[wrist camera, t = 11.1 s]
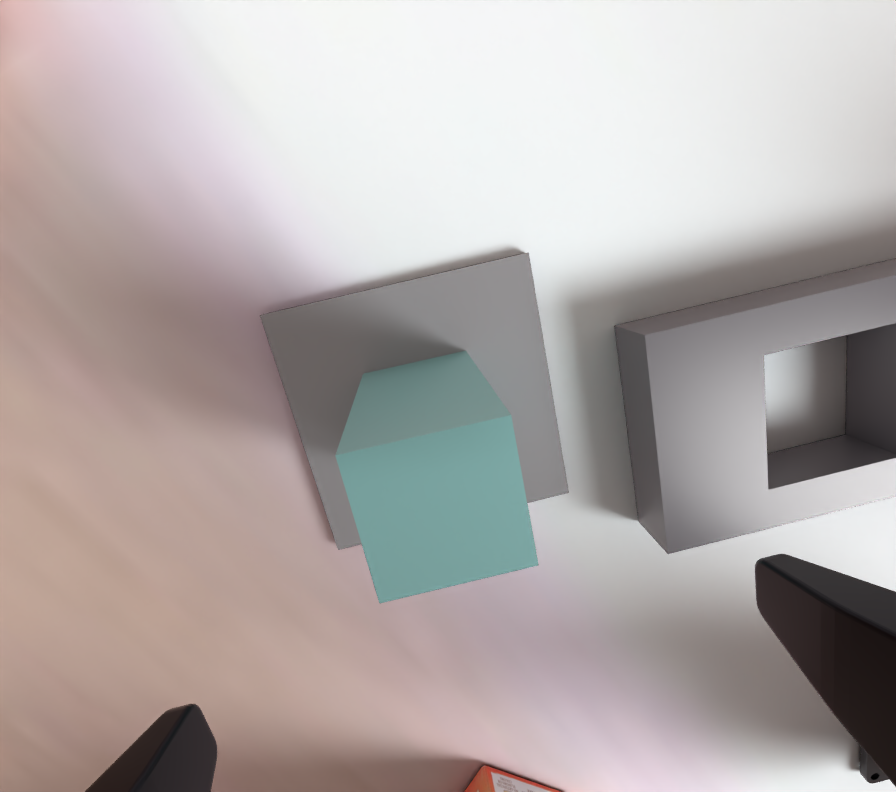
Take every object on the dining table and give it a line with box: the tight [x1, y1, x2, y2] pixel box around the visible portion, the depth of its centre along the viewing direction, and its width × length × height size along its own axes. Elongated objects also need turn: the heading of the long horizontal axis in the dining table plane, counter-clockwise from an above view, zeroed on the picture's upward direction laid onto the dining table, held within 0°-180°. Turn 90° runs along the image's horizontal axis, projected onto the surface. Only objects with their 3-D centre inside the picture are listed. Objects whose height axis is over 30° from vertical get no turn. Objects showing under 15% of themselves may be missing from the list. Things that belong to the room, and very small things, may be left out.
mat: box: [260, 253, 569, 550], centre depth 19 cm, size 10×10×1 cm
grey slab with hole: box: [615, 258, 896, 554], centre depth 19 cm, size 9×14×2 cm, turn 102°
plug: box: [335, 351, 538, 603], centre depth 15 cm, size 4×4×8 cm
